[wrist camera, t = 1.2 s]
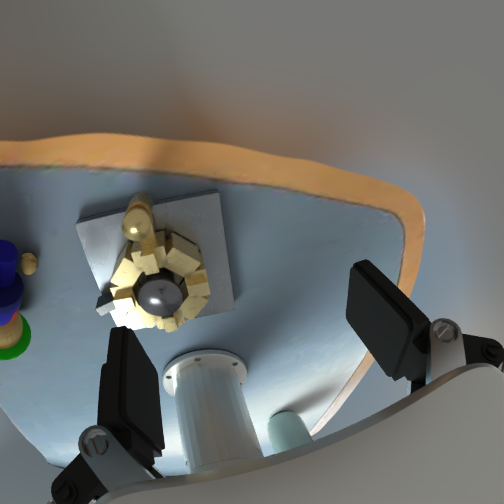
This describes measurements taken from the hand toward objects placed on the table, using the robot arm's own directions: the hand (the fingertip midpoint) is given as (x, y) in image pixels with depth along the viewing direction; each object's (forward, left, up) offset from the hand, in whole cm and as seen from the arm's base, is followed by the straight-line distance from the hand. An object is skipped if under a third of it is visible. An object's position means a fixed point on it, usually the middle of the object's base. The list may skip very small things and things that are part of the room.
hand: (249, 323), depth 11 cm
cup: (-50, -8, -18) cm, 53 cm away
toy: (-6, +25, -18) cm, 32 cm away
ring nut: (-6, +5, -17) cm, 18 cm away
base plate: (-8, +5, -18) cm, 20 cm away
